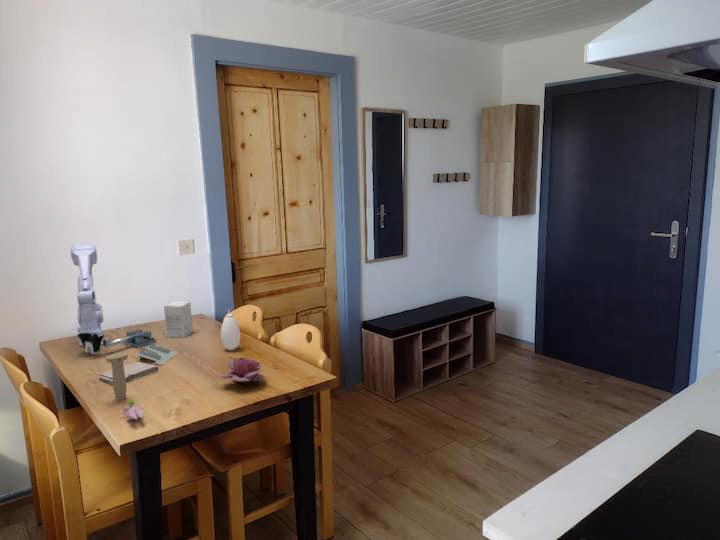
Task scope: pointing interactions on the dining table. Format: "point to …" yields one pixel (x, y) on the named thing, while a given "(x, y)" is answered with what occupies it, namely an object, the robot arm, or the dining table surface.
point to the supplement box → (178, 319)
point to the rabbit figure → (132, 411)
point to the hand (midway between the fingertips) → (92, 350)
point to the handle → (118, 374)
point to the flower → (244, 370)
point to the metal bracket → (157, 354)
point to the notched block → (89, 347)
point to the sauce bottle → (230, 332)
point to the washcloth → (130, 372)
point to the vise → (133, 339)
